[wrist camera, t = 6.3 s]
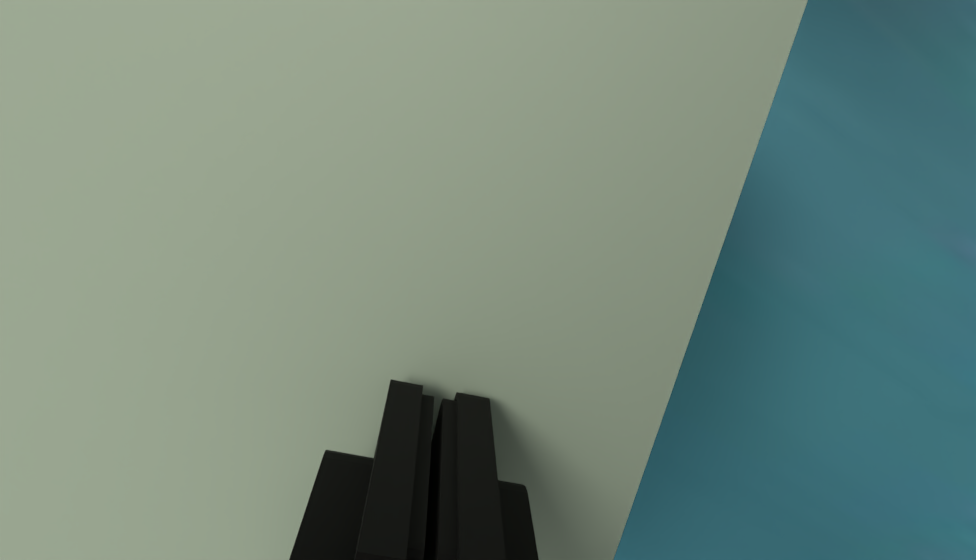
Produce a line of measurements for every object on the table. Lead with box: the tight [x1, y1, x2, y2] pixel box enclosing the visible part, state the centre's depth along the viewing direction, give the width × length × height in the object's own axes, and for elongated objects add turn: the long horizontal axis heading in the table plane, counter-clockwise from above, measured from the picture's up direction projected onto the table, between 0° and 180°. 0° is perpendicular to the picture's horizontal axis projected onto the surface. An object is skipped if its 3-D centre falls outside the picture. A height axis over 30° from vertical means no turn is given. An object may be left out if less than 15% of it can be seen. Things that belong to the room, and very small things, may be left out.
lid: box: [0, 0, 808, 560], centre depth 12 cm, size 16×14×1 cm
